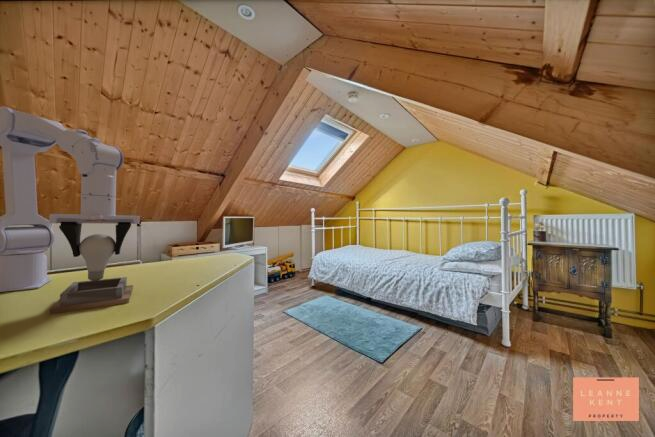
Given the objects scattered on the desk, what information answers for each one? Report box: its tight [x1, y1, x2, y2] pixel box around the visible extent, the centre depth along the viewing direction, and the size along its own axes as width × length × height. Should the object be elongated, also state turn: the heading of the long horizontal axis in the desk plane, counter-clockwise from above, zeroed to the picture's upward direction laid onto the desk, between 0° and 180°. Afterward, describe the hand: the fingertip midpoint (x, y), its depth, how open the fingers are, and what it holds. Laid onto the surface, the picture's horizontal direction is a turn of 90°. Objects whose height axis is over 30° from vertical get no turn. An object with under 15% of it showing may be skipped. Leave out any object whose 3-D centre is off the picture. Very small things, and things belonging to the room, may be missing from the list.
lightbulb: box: [79, 233, 116, 282], centre depth 54 cm, size 6×6×11 cm
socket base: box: [48, 276, 134, 315], centre depth 54 cm, size 11×12×4 cm
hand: (97, 254), depth 54 cm, fingers closed on lightbulb, 6 cm apart
